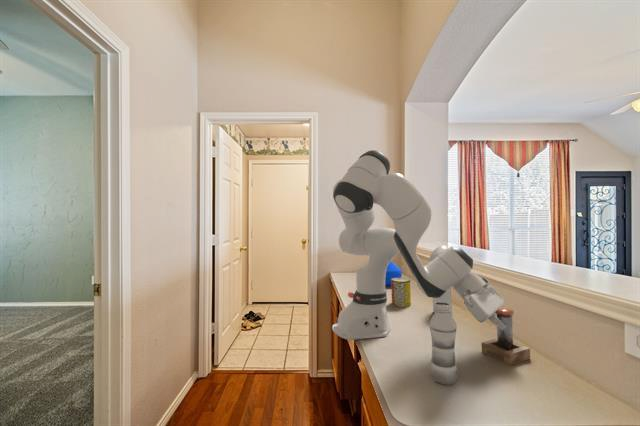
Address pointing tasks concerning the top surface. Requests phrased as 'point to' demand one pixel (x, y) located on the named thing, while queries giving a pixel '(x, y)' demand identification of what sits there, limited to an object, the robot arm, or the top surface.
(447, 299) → the skincare box
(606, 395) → the top surface
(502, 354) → the collar
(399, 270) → the vase
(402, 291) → the beverage can
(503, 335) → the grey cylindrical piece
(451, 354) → the plastic bottle
